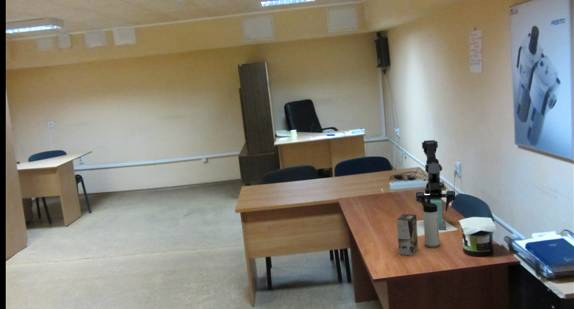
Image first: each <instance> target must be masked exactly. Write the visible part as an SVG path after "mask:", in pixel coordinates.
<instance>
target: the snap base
mask: <svg viewBox="0 0 574 309" xmlns="http://www.w3.org/2000/svg"><path fill="white" fill-rule="evenodd" d="M445 221H446V220H444V221H442V222H443V225H438V227H439V230H446V224H445Z"/></svg>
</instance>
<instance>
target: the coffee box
mask: <svg viewBox="0 0 574 309" xmlns="http://www.w3.org/2000/svg"><path fill="white" fill-rule="evenodd" d="M417 221H418V220H417V214H414V213H413V214H411V213H402V214H401V215H400V216H399V217H398V218H397V219H396V224H397V225H396V226H397V227H396V228H397V229H396V230H397V242H398V243H397V244H398V254H399V255H404V256H405V255H406V256H414V254H415V252H417V251H418V249H419V242H418V240H419V239H418V236H417Z"/></svg>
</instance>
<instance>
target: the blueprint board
mask: <svg viewBox="0 0 574 309" xmlns="http://www.w3.org/2000/svg"><path fill="white" fill-rule="evenodd" d="M442 221H445V224H446V230H439V234H440V233H446V232H453V231H458V230H459V229H458V228H456V227H455V226H453V225H452V224H450V223H449V222H447V221H446V220H444V219H442ZM422 236H423V237H424V236H425V234H424V219H421V220H417V237H422Z"/></svg>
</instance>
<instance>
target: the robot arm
mask: <svg viewBox="0 0 574 309" xmlns="http://www.w3.org/2000/svg"><path fill="white" fill-rule="evenodd" d="M438 148H439V146H438V141H437V140H435V139H430V140H429V139H428V140H423V141H422V142H421V149H422V150H423V153H424V154H425V156H426V160H425V162H426V164H425V165H424V167H425V168H424V169H425V173H426V174H427V183H426V185H425V188H424V191H416V192H415V200H416V202H418V203H419V204H421V205H422V204H424V203H431V202H430V199H441V200H442V198H446V199H445V212H448V208H449V206H450V204H451V203H453V202H454V201H455V200H456V192H455V190H446V192H445V193H443V190H442V189H445V181H441V178H440V176H441V172H442V171H443V165H441V163H440V162H439V159H437V156H436V153H437V149H438Z"/></svg>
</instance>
